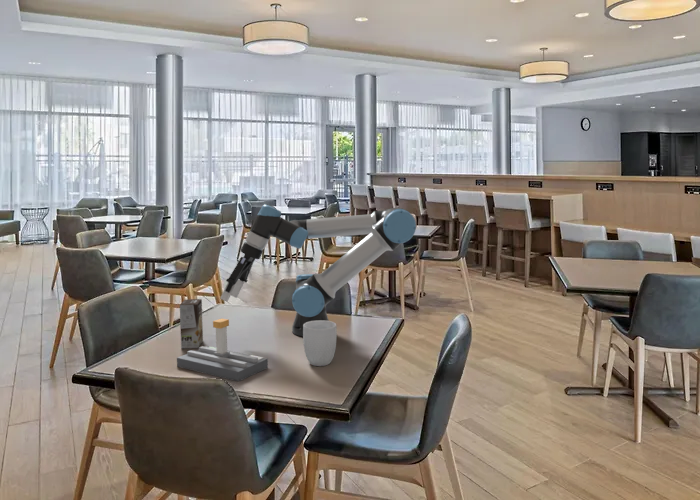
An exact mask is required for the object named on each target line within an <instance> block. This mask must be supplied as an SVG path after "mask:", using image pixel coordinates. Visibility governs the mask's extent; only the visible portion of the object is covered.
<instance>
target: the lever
mask: <svg viewBox="0 0 700 500" xmlns="http://www.w3.org/2000/svg"><path fill="white" fill-rule="evenodd" d="M229 326H230V319H226V318H219V319H215V320H213V321H212V328H215V340H216V341H215V343H216V344H215V348H216V352H214V355H215V356H220V357H224V358H228V357H230V352H228V351H229V350H228V333H227V332H228V330H227V329H228V328H227V327H229ZM227 350H228V351H227Z"/></svg>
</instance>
